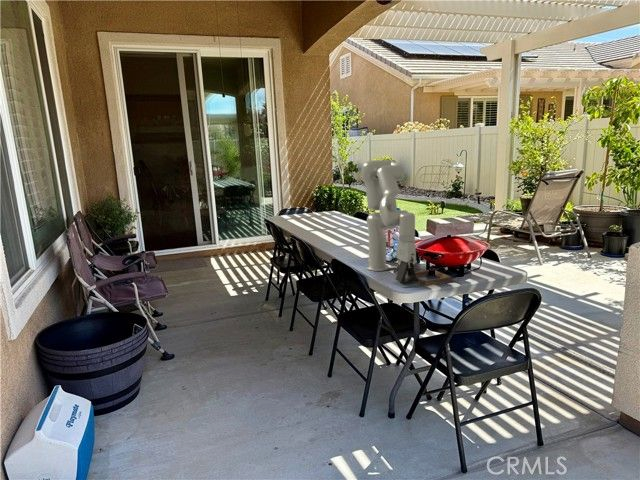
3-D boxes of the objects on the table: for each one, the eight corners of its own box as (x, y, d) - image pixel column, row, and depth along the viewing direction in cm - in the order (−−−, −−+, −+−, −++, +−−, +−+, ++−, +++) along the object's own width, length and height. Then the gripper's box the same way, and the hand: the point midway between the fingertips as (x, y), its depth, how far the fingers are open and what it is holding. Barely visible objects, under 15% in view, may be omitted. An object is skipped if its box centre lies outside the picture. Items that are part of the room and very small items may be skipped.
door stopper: (400, 283, 217) (400, 259, 214) (395, 279, 222) (395, 256, 220) (417, 281, 219) (417, 257, 216) (412, 277, 225) (412, 254, 222)
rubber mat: (392, 282, 223) (392, 281, 223) (409, 279, 227) (409, 278, 227) (404, 288, 214) (404, 287, 214) (421, 285, 218) (421, 284, 218)
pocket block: (406, 278, 230) (406, 273, 230) (431, 273, 236) (431, 269, 236) (425, 286, 216) (425, 281, 215) (451, 281, 222) (451, 276, 222)
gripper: (390, 236, 222) (390, 270, 226) (410, 242, 207) (410, 279, 211) (403, 234, 225) (402, 268, 229) (424, 240, 210) (423, 277, 214)
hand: (406, 273), depth 220 cm, fingers closed on door stopper, 6 cm apart
